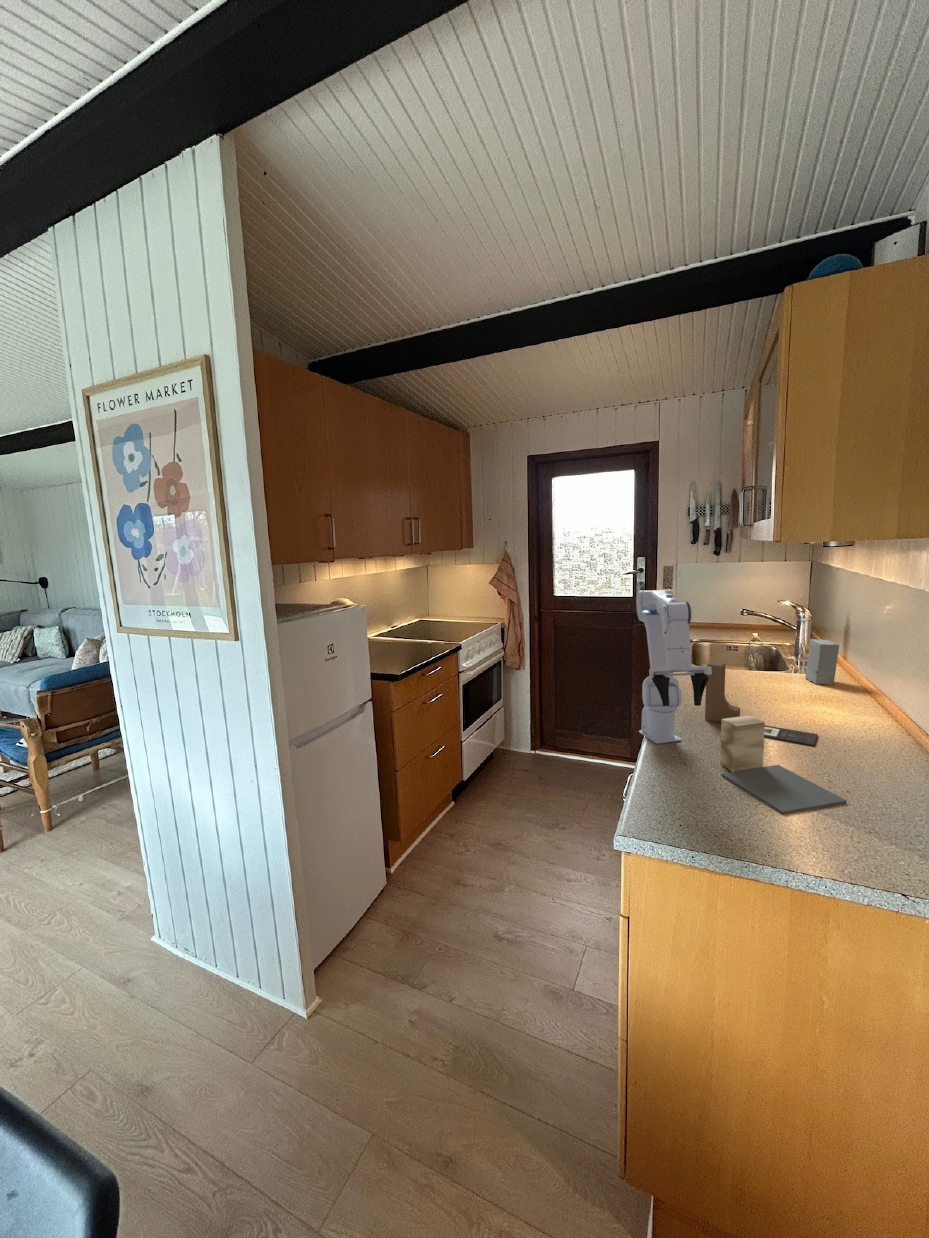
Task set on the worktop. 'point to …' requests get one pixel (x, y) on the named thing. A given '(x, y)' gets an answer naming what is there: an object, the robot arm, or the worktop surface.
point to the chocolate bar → (790, 736)
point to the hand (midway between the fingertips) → (681, 705)
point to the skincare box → (822, 661)
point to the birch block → (742, 743)
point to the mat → (783, 789)
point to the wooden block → (718, 695)
